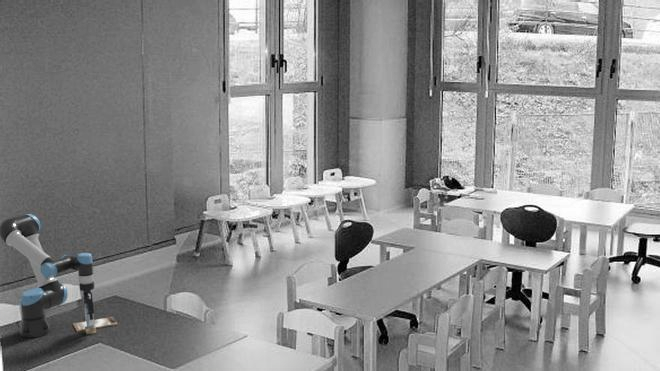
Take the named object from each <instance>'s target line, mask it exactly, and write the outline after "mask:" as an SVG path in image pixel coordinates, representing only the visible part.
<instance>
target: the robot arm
mask: <svg viewBox="0 0 660 371" xmlns="http://www.w3.org/2000/svg"><path fill="white" fill-rule="evenodd" d="M40 230H41V222H40V220H39V218H37V216H36V215H33V213H32V214H31V213H26V214H23V213H22V214H20V215H16V216H14V217H8V218H6V219H4V220H2V222H1V223H0V239H1V240H2V241H3V242H4V243H5V244H6V245H7V246H10V247H13V248H14V249H16V251H18V252H19V253H20V254H22V255H23V256H25V257H26V258H27V259H28V261H29V263H30V265H31V268H32V271H33V273H34V276H35V279H36V281H37V283H38V285H37V287H33V288H30V289H26V290H25V291H23V292H22V293H21V295H20V306H21V316H22V323H21V327H20V329H19V330H20V331H19V334H20V336H21V337H23V338H28V339H30V338H32V339H33V338H38V337H43V336H45V335H48V334H49V333H50V332H51V327H50V324H49V321H48V320H47V317H46V311H48V310H51V309H53V308H57V307H59V306H61V305H63V304H64V303H66V301H67V300H68V299H67V298H68V296H69V295H68V294H69V293H68V288H67V287H66V285H65V284H64V283H62V282H60V281H59V279H58V278H55V276H57V275H58V276H59V275H60V274H64V273H66V272H70V271H78V272H77V273H78V282H79V291H82V293H83V298H82V299H83V308H85V304H84V303H87V307H88V313H87V314H88V320H89V326H91V325H94V320H95V317H94V314H95V308H94V301H93V292H92V291H93V290H94V289H95V282H94V280H95V279H94V277H95V274H94V270H93V269H94V265H93V263H94V262H93V256H92V254H91V253H90V252H81V253H78V254H77V255H73V254H64V255H62V256H61V257H60V258H58V259H54V258H52V257H51V256H50V255H48V254H47V253H46V252H45V251H44V250H43V247H42V245H41V243H40V242H41V241H40V240H39V236H40ZM90 311H91V312H90ZM84 316H85V320H86V312H85V311H84Z"/></svg>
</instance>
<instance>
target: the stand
mask: <svg viewBox="0 0 660 371" xmlns="http://www.w3.org/2000/svg"><path fill="white" fill-rule="evenodd" d="M84 332H85V334H86V335H92V334H93V335H94V334H97V329H96V327H95V325H94V327H93V328H87V326H85V331H84Z"/></svg>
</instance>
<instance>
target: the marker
mask: <svg viewBox="0 0 660 371" xmlns="http://www.w3.org/2000/svg"><path fill="white" fill-rule="evenodd" d="M84 304H85V307H84V313H85V312H86V319H85V321H86V324H87V328H93V327H94V325H91V326H89V320H88V314H87V313H88V307H87V303H84V302H83V305H84ZM90 312H91V311H90Z"/></svg>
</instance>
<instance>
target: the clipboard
mask: <svg viewBox="0 0 660 371" xmlns="http://www.w3.org/2000/svg"><path fill="white" fill-rule="evenodd" d="M94 325H95V327H96V330H97V329H103V328H108V327H113V326H114V327H115V326H119V323H118V321H117V320H116V319H115V318H114V316H108V317H102V318H97V319H95V318H94ZM72 326H73V327H74V330H75V331H76V332H77V333H79V332H85V326H87V324H86V320H85V321H79V322H73V323H72Z"/></svg>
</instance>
